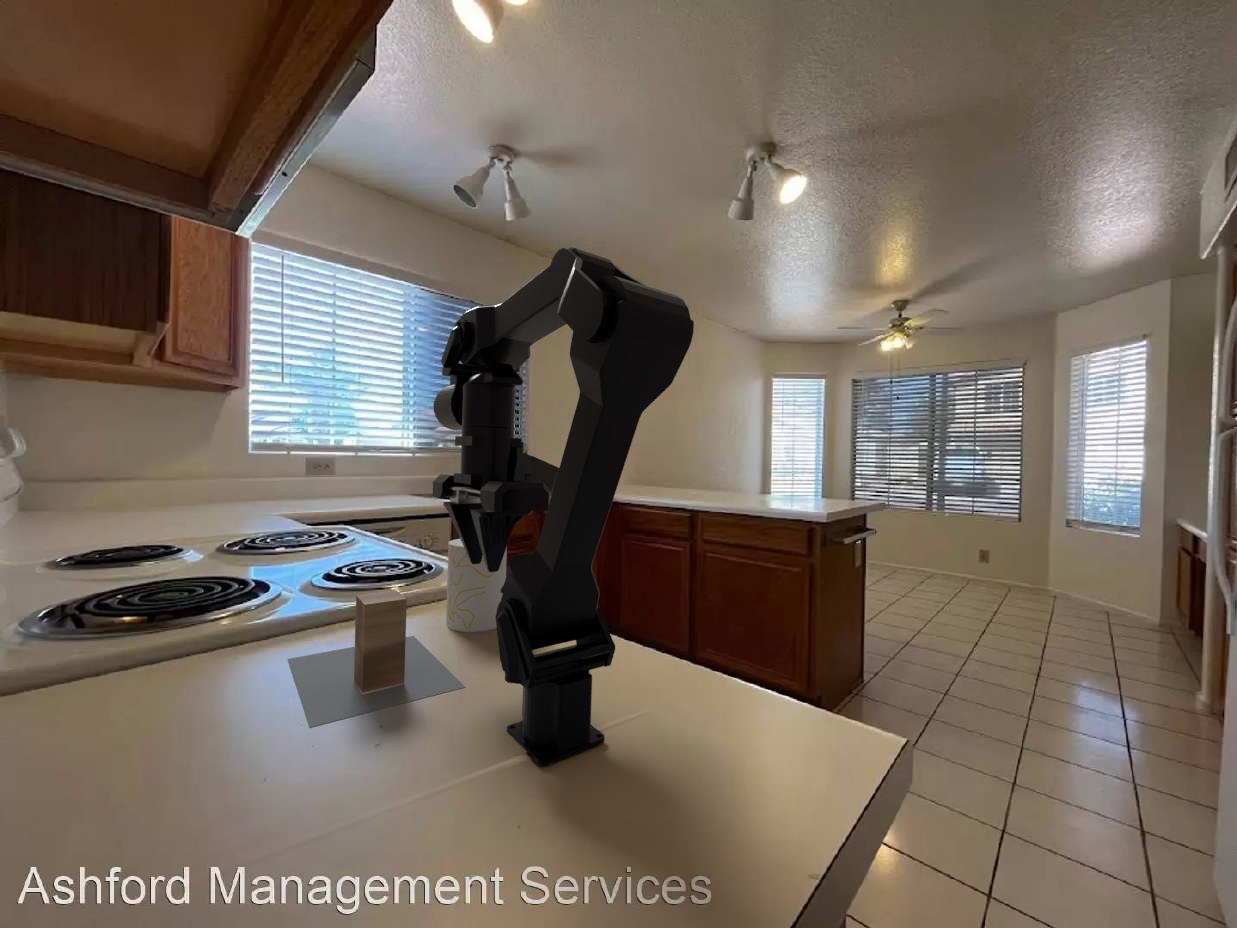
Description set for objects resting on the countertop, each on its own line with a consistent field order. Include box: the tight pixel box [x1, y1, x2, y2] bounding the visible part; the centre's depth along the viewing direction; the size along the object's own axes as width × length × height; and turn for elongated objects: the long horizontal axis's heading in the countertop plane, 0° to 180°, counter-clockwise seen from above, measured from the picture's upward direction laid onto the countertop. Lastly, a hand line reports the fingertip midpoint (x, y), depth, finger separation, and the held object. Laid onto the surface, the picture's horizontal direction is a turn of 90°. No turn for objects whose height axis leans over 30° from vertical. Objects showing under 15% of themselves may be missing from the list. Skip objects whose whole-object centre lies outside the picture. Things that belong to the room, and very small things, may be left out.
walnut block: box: [354, 589, 408, 695], centre depth 53 cm, size 4×4×9 cm
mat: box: [287, 635, 466, 729], centre depth 56 cm, size 18×14×1 cm
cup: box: [445, 538, 508, 633], centre depth 74 cm, size 8×8×12 cm
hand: (484, 567), depth 57 cm, fingers open, 4 cm apart
